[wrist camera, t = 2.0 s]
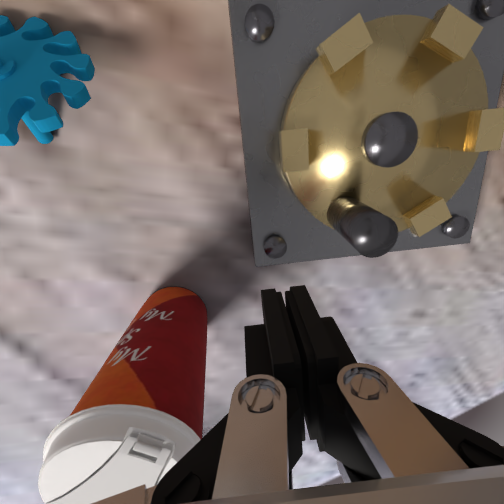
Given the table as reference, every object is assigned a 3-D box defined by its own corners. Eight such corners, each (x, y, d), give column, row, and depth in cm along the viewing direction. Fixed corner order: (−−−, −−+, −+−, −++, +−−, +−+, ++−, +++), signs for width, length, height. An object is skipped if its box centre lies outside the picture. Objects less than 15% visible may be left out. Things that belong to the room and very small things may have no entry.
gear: (115, 28, 18) (28, 148, 14) (138, 108, 24) (80, 212, 19) (-61, -18, 18) (-200, 90, 14) (3, 74, 23) (-84, 170, 19)
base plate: (228, 7, 19) (227, -11, 17) (497, -20, 20) (534, -41, 17) (254, 257, 26) (256, 269, 24) (453, 235, 26) (475, 245, 24)
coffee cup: (154, 259, 26) (60, 408, 12) (235, 300, 28) (236, 468, 14) (116, 328, 28) (2, 518, 14) (193, 361, 30) (158, 556, 16)
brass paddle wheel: (342, -23, 17) (410, -121, 11) (505, 83, 20) (641, 59, 13) (249, 186, 22) (255, 211, 15) (393, 251, 24) (454, 296, 17)
